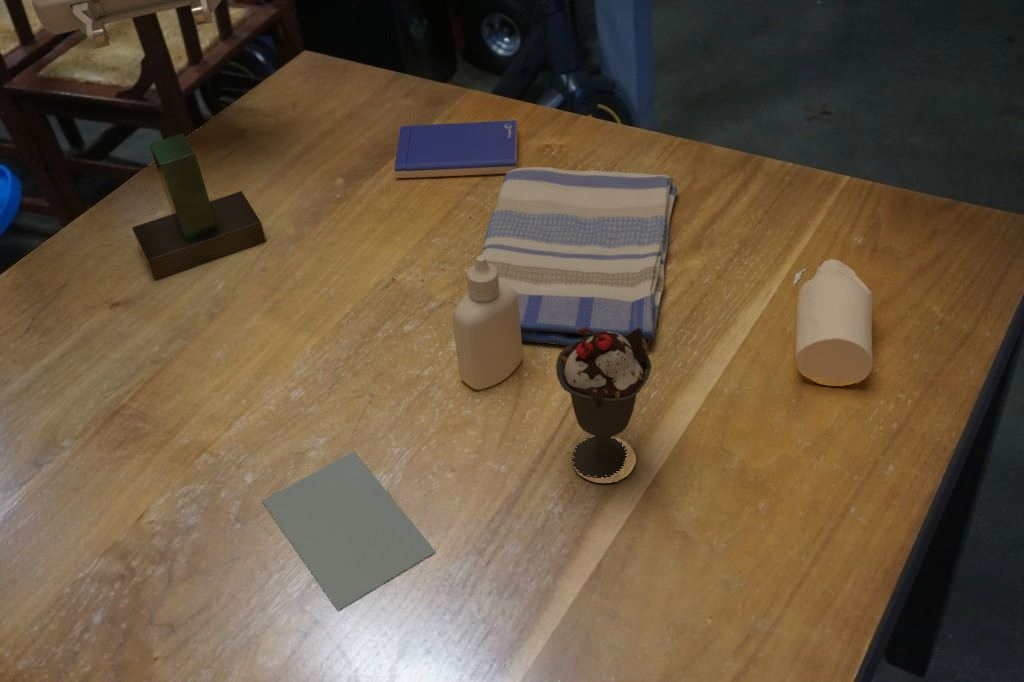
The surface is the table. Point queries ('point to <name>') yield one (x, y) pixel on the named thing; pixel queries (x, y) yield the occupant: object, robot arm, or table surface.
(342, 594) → the gray rectangular card
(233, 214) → the green post on base
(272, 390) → the table surface
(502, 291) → the eye dropper bottle
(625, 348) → the sundae
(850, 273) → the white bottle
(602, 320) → the dish towel
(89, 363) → the table surface
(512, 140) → the blue hardcover book
